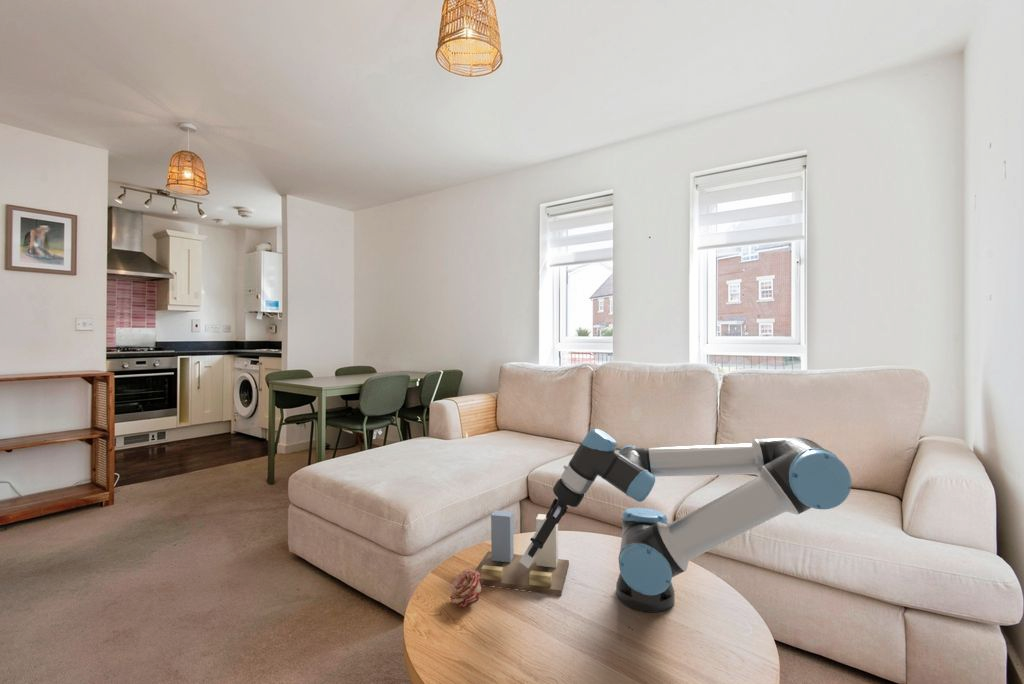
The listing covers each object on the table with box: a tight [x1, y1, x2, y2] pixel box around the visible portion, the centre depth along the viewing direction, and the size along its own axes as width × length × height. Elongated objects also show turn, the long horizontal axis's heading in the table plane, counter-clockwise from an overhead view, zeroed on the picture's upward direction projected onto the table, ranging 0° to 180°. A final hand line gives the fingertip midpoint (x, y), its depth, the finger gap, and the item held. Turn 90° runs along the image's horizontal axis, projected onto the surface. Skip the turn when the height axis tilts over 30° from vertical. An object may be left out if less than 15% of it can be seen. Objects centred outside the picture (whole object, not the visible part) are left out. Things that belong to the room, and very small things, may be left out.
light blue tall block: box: [490, 509, 515, 563], centre depth 141 cm, size 6×4×14 cm
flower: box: [449, 568, 483, 608], centre depth 121 cm, size 10×9×8 cm
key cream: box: [535, 513, 559, 568], centre depth 138 cm, size 6×4×14 cm
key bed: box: [475, 550, 570, 596], centre depth 135 cm, size 26×17×4 cm, turn 76°
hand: (530, 552), depth 118 cm, fingers open, 13 cm apart
